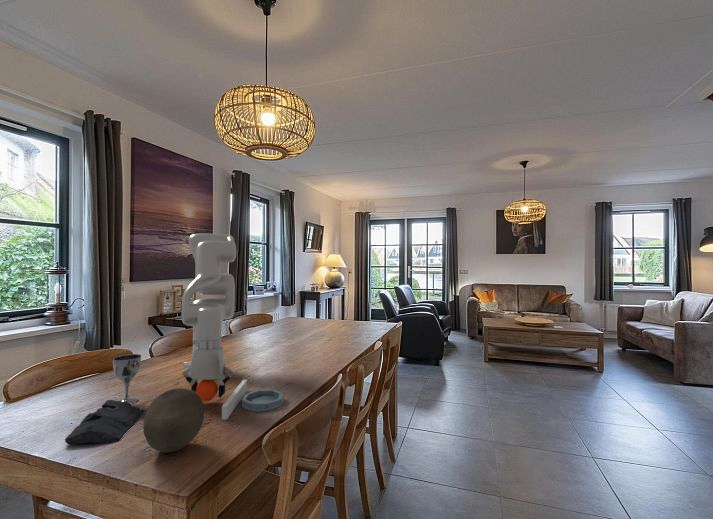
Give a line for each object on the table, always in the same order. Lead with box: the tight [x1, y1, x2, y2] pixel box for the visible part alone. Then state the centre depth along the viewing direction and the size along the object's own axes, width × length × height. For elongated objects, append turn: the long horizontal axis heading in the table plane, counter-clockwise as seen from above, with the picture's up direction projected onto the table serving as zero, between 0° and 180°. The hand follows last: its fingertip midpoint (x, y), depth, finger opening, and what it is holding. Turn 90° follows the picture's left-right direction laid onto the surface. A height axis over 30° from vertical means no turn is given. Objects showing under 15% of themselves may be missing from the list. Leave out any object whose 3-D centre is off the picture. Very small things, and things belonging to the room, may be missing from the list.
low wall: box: [221, 379, 248, 421], centre depth 117 cm, size 2×24×4 cm, turn 3°
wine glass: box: [112, 353, 142, 404], centre depth 118 cm, size 8×8×15 cm
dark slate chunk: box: [64, 399, 145, 445], centre depth 100 cm, size 15×22×5 cm
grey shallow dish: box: [241, 389, 284, 413], centre depth 118 cm, size 14×14×2 cm
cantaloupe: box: [142, 388, 205, 454], centre depth 88 cm, size 14×14×15 cm
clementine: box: [196, 380, 219, 402], centre depth 117 cm, size 8×7×7 cm
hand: (208, 395), depth 117 cm, fingers closed on clementine, 8 cm apart
